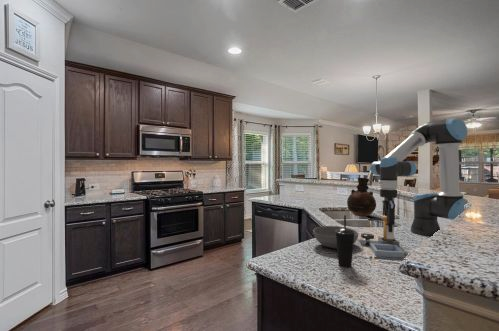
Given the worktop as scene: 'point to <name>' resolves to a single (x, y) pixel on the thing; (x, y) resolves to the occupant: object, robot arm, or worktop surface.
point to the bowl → (329, 235)
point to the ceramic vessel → (361, 199)
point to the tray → (396, 253)
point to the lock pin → (386, 229)
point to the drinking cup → (345, 245)
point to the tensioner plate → (380, 241)
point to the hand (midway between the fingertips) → (388, 237)
